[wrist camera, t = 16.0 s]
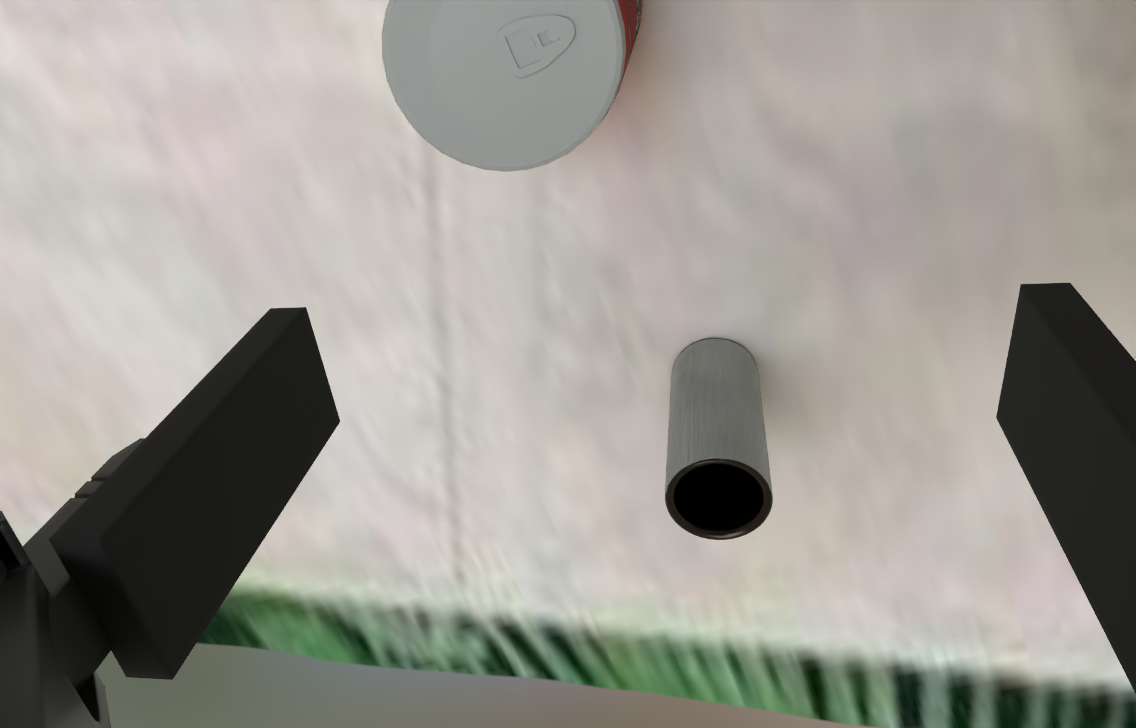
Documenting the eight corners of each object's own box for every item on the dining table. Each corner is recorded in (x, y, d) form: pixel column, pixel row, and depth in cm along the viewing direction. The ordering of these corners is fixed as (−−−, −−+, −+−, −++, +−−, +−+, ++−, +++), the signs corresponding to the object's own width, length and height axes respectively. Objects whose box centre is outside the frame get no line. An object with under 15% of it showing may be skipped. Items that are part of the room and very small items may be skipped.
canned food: (680, 18, 35) (673, 76, 26) (538, 131, 39) (487, 218, 29) (567, -146, 33) (515, -147, 24) (425, -10, 36) (331, 37, 27)
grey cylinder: (723, 423, 46) (728, 556, 37) (654, 382, 45) (644, 508, 36) (776, 366, 43) (795, 494, 35) (704, 321, 43) (706, 441, 34)
